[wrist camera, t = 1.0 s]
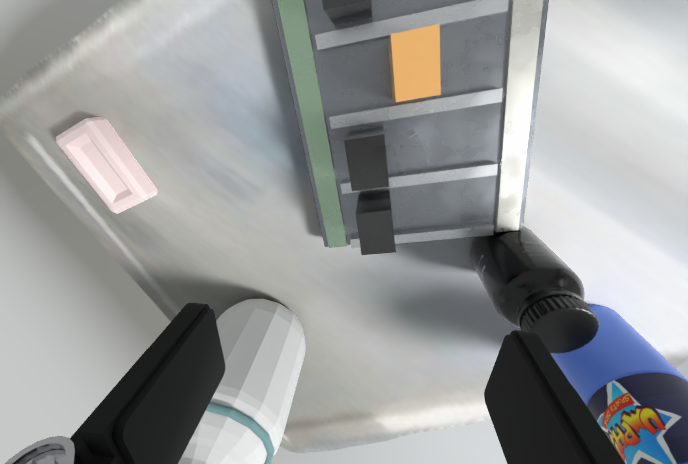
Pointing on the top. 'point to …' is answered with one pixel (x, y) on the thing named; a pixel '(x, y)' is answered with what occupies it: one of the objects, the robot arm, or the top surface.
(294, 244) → the top surface
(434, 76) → the handle
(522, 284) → the supplement bottle
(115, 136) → the soap bar
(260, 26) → the top surface
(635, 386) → the water bottle
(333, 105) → the breaker panel
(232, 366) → the soap bottle
